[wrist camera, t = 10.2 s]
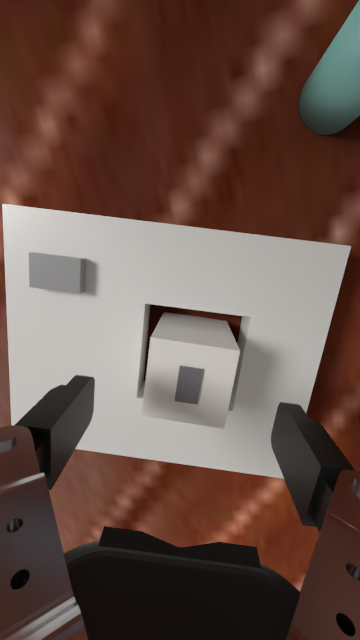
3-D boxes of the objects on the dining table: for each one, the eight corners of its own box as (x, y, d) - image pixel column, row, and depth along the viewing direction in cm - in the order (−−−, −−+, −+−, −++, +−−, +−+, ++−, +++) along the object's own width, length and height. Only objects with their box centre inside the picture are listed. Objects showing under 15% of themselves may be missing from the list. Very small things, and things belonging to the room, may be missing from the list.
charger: (156, 369, 20) (140, 417, 14) (164, 311, 19) (150, 338, 13) (215, 378, 20) (224, 430, 14) (226, 320, 19) (240, 351, 13)
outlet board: (32, 419, 22) (4, 447, 19) (28, 210, 18) (-8, 201, 15) (277, 453, 21) (292, 488, 18) (329, 247, 17) (359, 245, 14)
